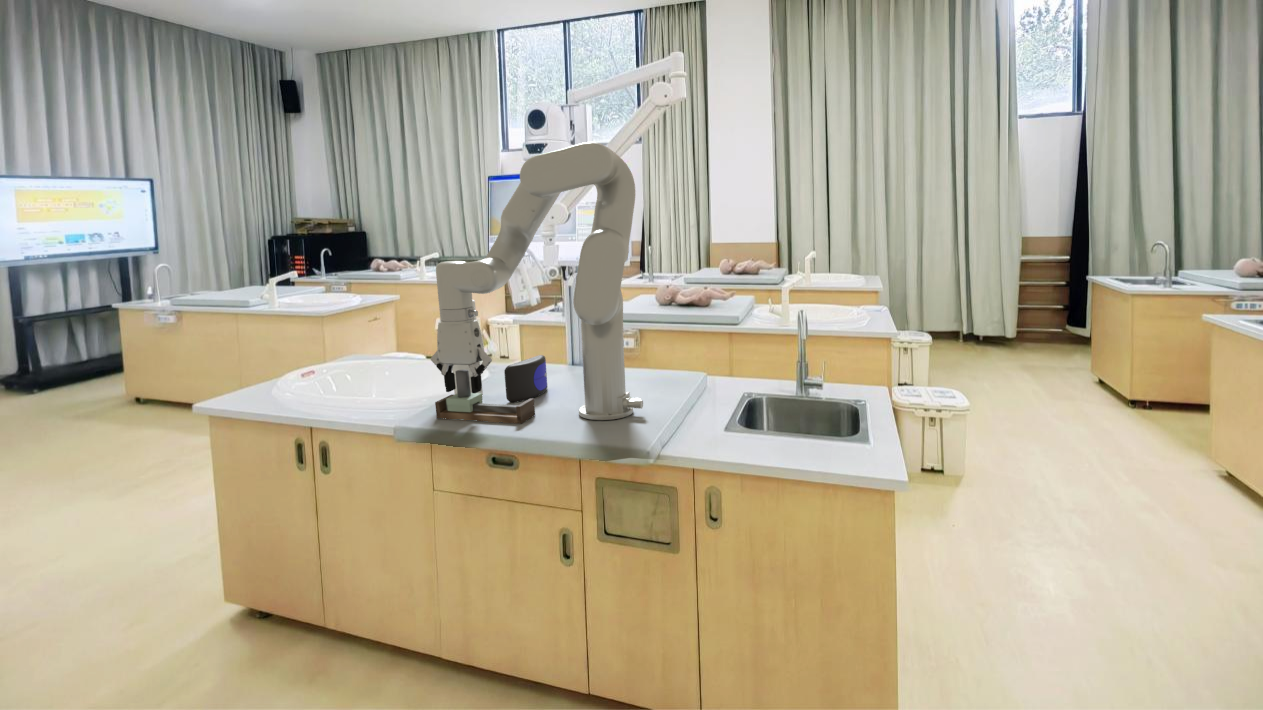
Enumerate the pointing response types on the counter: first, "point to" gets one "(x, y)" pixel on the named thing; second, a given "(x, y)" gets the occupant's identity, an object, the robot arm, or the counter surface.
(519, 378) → the black curved block
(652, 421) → the counter surface
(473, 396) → the carriage
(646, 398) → the counter surface
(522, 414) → the board
